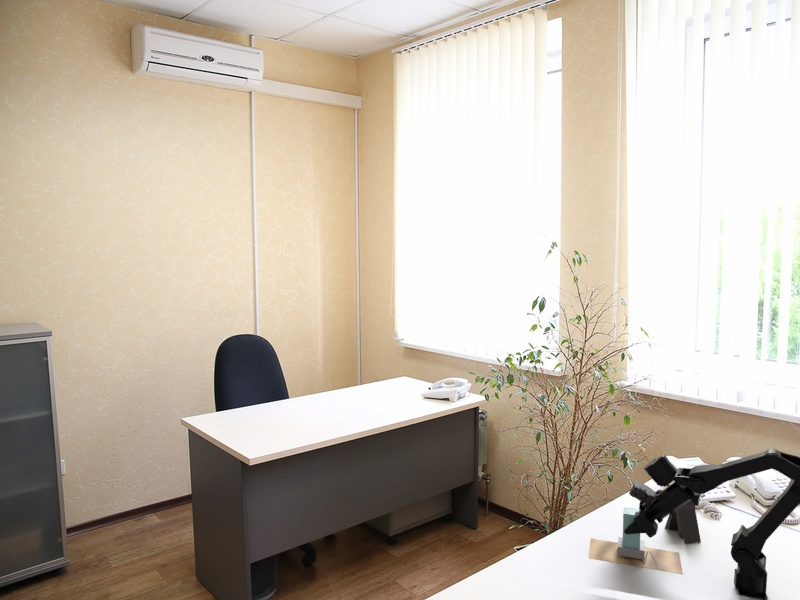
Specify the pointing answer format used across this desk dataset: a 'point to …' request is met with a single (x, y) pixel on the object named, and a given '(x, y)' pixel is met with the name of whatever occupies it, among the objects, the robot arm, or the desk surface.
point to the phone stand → (685, 523)
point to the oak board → (651, 559)
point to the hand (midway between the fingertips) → (626, 529)
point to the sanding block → (630, 538)
